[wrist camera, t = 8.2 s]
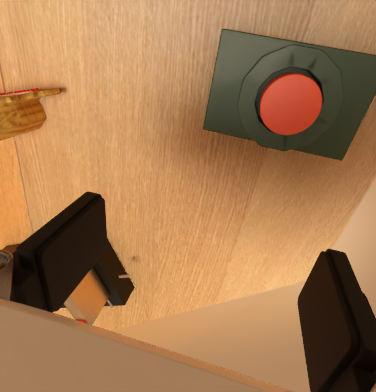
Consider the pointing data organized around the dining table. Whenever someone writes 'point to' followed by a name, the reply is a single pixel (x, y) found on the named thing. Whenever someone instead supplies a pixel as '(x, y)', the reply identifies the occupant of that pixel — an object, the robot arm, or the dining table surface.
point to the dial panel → (107, 276)
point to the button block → (279, 64)
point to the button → (290, 103)
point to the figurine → (21, 111)
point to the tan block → (87, 298)
